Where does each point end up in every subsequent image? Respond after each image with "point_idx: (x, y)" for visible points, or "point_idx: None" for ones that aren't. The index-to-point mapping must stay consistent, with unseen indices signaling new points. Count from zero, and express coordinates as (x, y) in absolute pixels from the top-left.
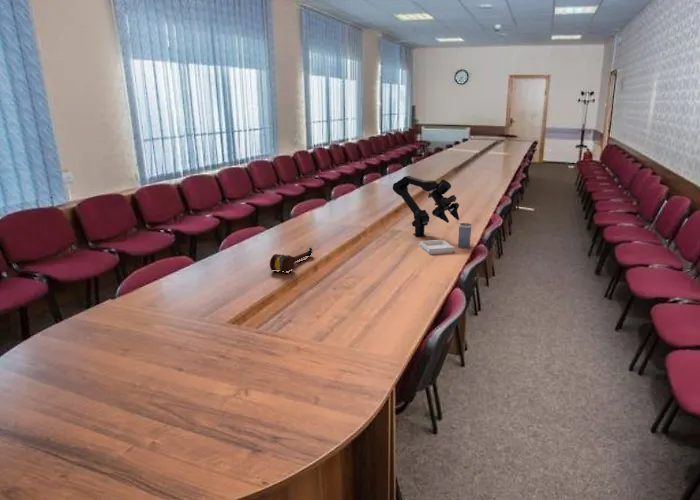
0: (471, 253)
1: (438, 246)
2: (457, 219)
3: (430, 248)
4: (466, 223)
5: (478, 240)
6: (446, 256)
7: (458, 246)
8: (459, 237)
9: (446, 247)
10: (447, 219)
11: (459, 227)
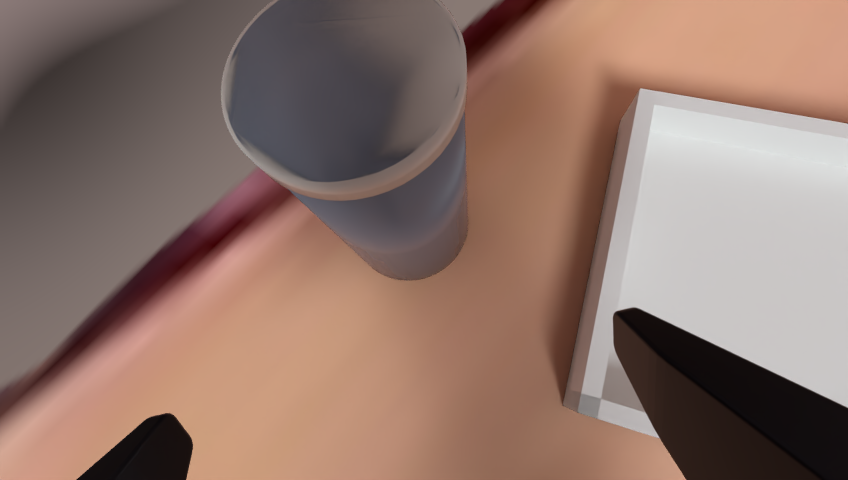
0: (488, 47)
1: (689, 321)
2: (182, 458)
3: (830, 301)
4: (257, 122)
5: (127, 327)
6: (752, 64)
7: (466, 235)
8: (465, 187)
9: (727, 116)
10: (697, 344)
11: (457, 131)
